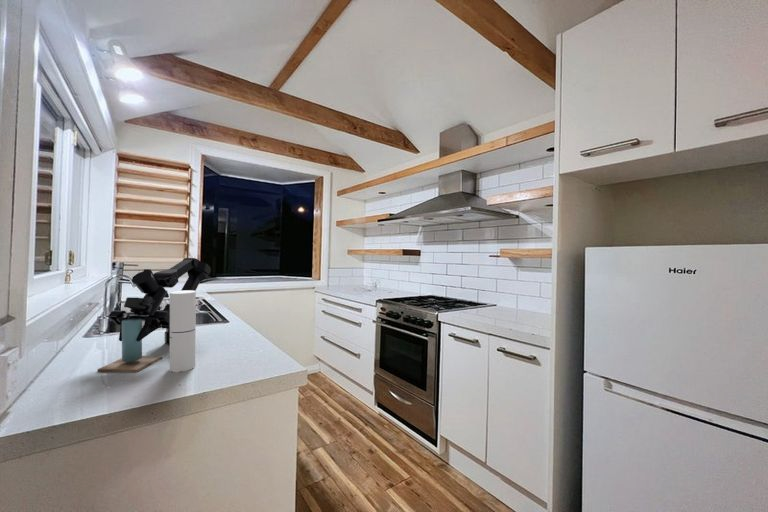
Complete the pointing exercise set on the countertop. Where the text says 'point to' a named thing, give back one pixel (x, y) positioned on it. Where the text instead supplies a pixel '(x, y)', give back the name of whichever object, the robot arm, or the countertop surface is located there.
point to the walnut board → (130, 365)
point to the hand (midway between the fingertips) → (128, 340)
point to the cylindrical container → (182, 330)
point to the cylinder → (131, 340)
